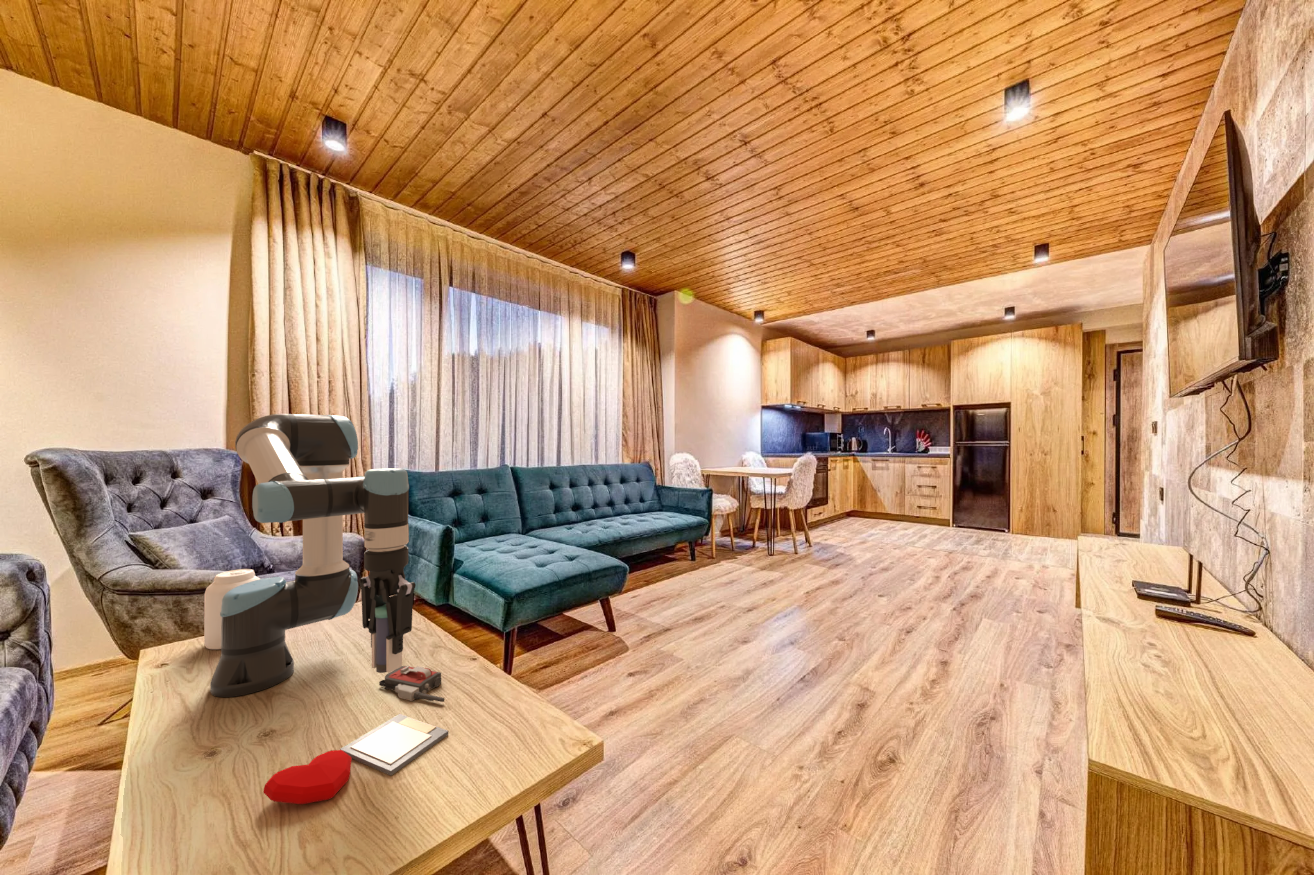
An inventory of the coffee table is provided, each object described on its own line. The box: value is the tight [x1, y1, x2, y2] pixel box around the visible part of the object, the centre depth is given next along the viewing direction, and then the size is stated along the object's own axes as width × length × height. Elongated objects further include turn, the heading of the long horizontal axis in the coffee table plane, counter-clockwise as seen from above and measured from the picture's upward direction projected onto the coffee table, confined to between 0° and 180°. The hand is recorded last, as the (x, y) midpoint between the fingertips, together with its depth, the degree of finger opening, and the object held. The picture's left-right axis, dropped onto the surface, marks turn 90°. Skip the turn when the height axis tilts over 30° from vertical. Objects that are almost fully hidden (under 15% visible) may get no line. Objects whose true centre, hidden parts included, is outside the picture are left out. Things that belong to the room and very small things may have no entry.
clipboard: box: [339, 713, 449, 776], centre depth 87 cm, size 14×12×1 cm
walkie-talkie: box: [378, 665, 445, 703], centre depth 106 cm, size 9×4×20 cm
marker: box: [375, 604, 389, 674], centre depth 90 cm, size 4×4×12 cm
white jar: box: [203, 568, 261, 650], centre depth 133 cm, size 12×12×20 cm
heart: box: [262, 749, 353, 805], centre depth 76 cm, size 12×4×10 cm
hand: (386, 666), depth 90 cm, fingers closed on marker, 4 cm apart
